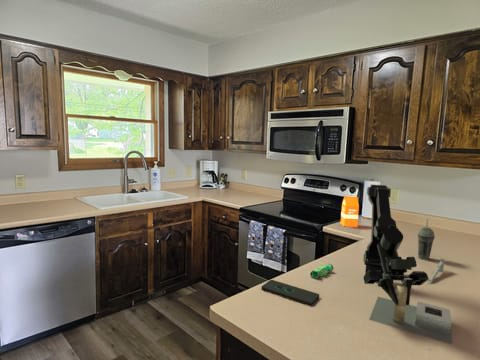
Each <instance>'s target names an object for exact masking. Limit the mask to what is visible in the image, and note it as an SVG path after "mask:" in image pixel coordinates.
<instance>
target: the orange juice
mask: <svg viewBox="0 0 480 360" xmlns="http://www.w3.org/2000/svg"><path fill="white" fill-rule="evenodd" d="M359 206H360V205H359V197H358V196H344V197H343V199H342V203H341V212H340V225H341V224H342V225H343V226H354V227H357V228H358V220H359V210H360V209H359ZM342 225H341V226H342ZM343 226H342V227H343Z"/></svg>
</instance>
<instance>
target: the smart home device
mask: <svg viewBox="0 0 480 360" xmlns="http://www.w3.org/2000/svg"><path fill="white" fill-rule="evenodd" d="M261 291H265V292H267V293H270V294H273V295H276V296H279V297H283V298H285V299H288V300H291V301H294V302H296V303H301V304H303V305H306V306H310V307H312V306H313V305H314V304H315V303H316V302H317V301H318V300H319V298H320V293H318V292H314V291H310V290H307V289H305V288H300V287H298V286H294V285H291V284H288V283H284V282H281V281H278V280H275V279H269V280H268V281H267V282H265V283H264V284H263V285H262V286H261Z"/></svg>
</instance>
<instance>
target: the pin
mask: <svg viewBox="0 0 480 360" xmlns="http://www.w3.org/2000/svg"><path fill="white" fill-rule="evenodd" d="M395 292H396V296H397V299H398V305H396V304H395V308H394V318H393V321H394V322H395V323H397V324H404V317H405V308H406V298H407V287H406V286H404V285H401V284H397V285H396V289H395Z"/></svg>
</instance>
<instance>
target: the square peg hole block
mask: <svg viewBox="0 0 480 360" xmlns="http://www.w3.org/2000/svg"><path fill="white" fill-rule="evenodd" d="M416 307H417V311H416V320H415V326H418V327H421V328H425V329H428V330H432V331H435V332H439V333H442V334H446V335H449V336H450V329H451V330H452V318H451V317H452V316H451V309H449V308H446V307H441V306H437V305H434V304H430V303H427V302H422V301H419V300H418V301H417V302H416Z"/></svg>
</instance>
